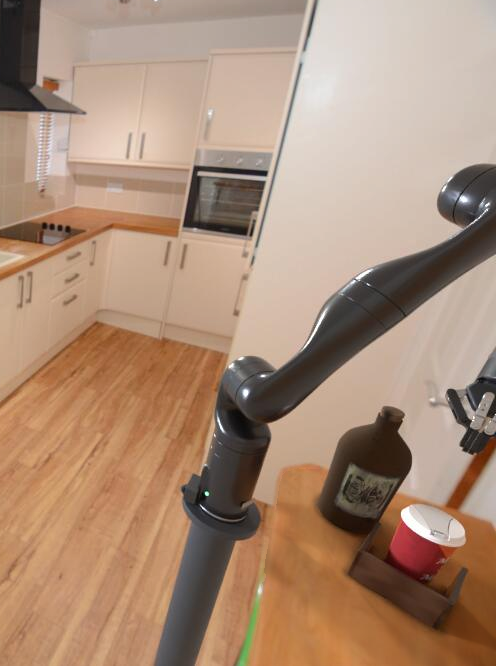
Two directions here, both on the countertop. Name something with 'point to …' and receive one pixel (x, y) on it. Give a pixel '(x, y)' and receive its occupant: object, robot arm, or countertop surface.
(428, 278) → the robot arm
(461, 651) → the countertop surface
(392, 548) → the paper cup
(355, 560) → the holder
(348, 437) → the brown bottle
